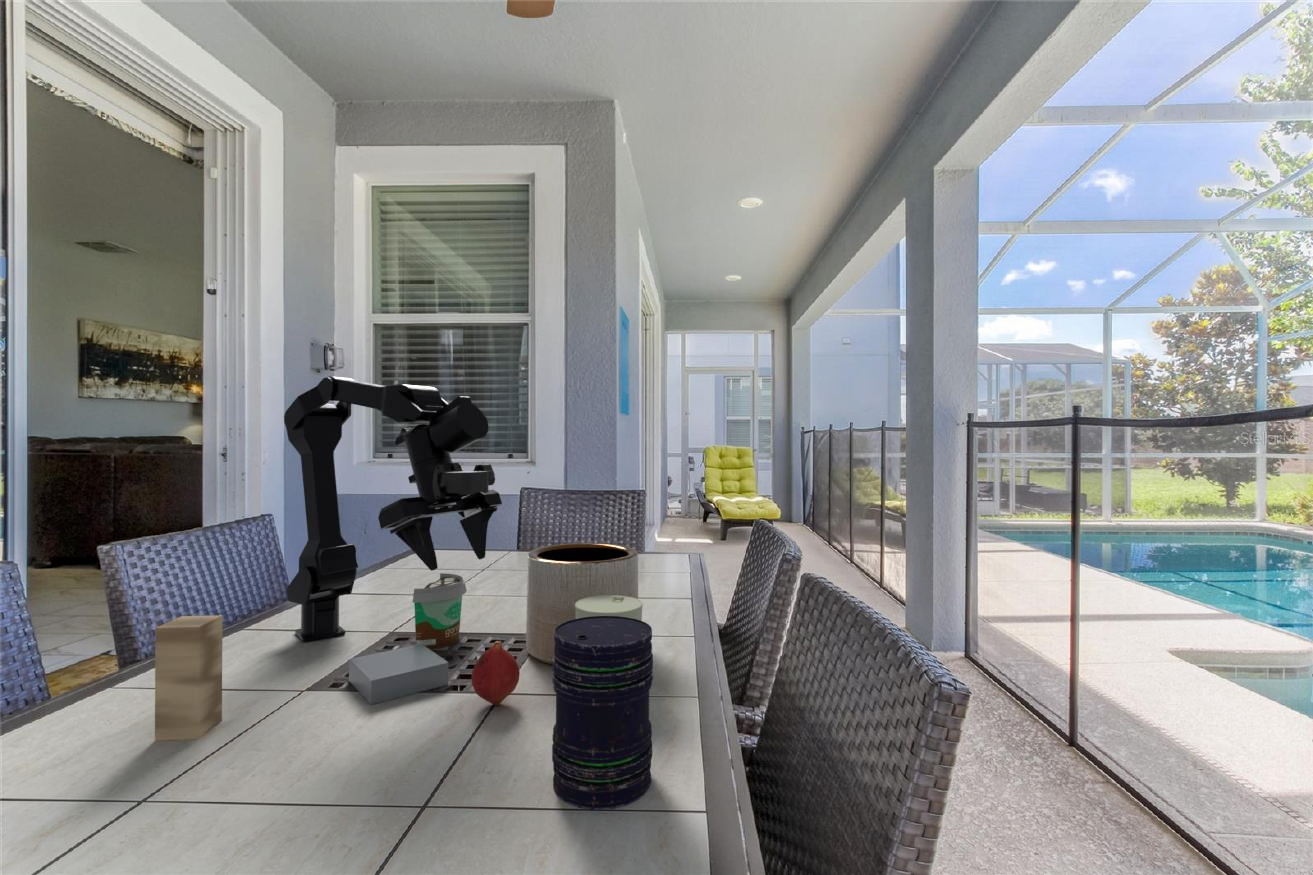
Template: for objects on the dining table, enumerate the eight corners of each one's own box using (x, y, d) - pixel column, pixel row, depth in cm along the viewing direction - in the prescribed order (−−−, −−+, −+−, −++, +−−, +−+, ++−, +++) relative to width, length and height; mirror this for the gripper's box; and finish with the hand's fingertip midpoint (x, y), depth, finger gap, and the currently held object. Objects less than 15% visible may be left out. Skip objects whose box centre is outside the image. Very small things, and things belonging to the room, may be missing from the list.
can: (651, 680, 88) (652, 594, 88) (627, 707, 79) (628, 612, 79) (591, 672, 91) (592, 589, 91) (561, 697, 82) (562, 605, 82)
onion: (476, 718, 75) (477, 651, 75) (467, 700, 81) (467, 638, 81) (524, 709, 78) (524, 644, 78) (512, 692, 83) (512, 631, 83)
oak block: (181, 722, 74) (181, 616, 74) (221, 720, 74) (222, 615, 74) (154, 740, 69) (155, 627, 69) (198, 739, 70) (199, 626, 70)
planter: (621, 629, 111) (622, 540, 111) (653, 663, 94) (653, 559, 94) (520, 638, 106) (520, 545, 106) (533, 676, 89) (534, 565, 89)
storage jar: (602, 746, 69) (603, 610, 69) (672, 777, 63) (673, 628, 63) (530, 784, 61) (531, 631, 61) (602, 824, 55) (603, 654, 55)
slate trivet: (348, 680, 87) (349, 659, 87) (421, 664, 93) (421, 643, 93) (371, 704, 79) (371, 680, 79) (448, 684, 86) (448, 662, 86)
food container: (451, 654, 98) (451, 590, 98) (412, 653, 98) (412, 589, 98) (475, 630, 110) (476, 572, 110) (441, 629, 110) (441, 572, 110)
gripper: (416, 444, 82) (447, 559, 80) (512, 443, 99) (540, 538, 96) (364, 473, 87) (391, 582, 85) (464, 468, 104) (489, 559, 101)
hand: (459, 564), depth 91 cm, fingers open, 9 cm apart
